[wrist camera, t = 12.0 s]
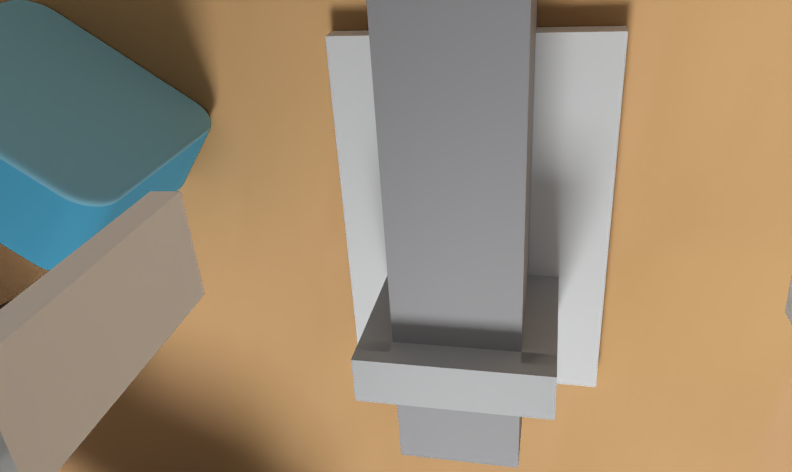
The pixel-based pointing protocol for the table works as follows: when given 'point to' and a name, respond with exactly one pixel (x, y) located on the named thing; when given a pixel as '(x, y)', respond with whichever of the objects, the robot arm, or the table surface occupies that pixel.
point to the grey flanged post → (475, 213)
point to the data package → (80, 133)
